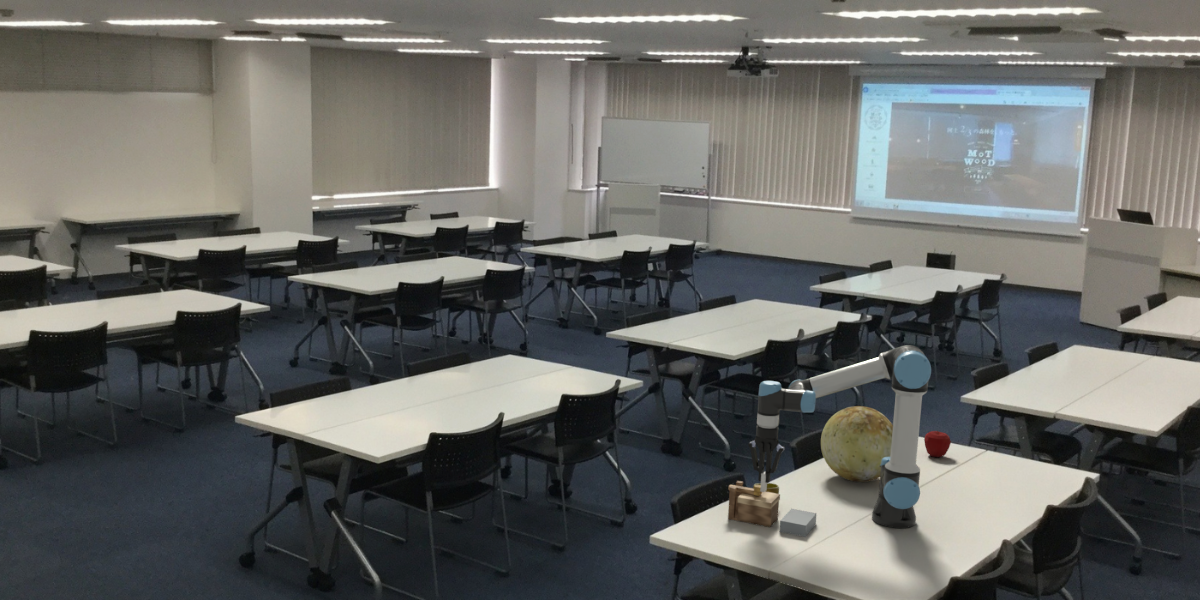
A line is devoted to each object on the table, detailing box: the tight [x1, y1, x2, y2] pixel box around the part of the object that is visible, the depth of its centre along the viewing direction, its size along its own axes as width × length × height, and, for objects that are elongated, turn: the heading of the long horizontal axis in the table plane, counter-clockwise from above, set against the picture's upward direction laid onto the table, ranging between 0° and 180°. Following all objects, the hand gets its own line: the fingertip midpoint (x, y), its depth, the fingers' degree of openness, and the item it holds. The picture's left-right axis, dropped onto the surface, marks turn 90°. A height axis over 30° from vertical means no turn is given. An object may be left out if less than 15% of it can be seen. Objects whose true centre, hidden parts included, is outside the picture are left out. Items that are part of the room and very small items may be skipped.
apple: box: [923, 430, 952, 458], centre depth 451 cm, size 11×11×12 cm
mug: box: [752, 482, 780, 494], centre depth 382 cm, size 12×10×10 cm
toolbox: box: [727, 480, 780, 528], centre depth 367 cm, size 16×9×12 cm, turn 64°
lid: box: [738, 492, 781, 509], centre depth 366 cm, size 12×11×3 cm
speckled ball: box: [820, 405, 893, 483], centre depth 414 cm, size 30×30×30 cm
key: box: [728, 484, 762, 496], centre depth 368 cm, size 12×3×3 cm, turn 64°
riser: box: [779, 508, 817, 538], centre depth 360 cm, size 9×14×4 cm, turn 154°
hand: (763, 490), depth 365 cm, fingers closed
